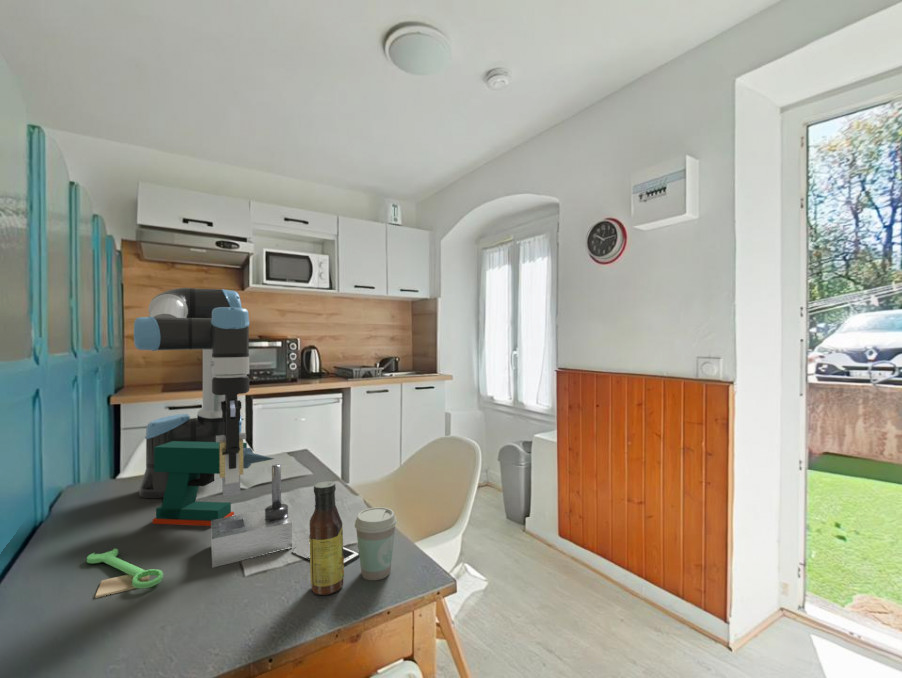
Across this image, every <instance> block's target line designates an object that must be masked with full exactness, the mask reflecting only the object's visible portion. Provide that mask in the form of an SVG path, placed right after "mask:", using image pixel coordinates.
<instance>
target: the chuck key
mask: <svg viewBox="0 0 902 678" xmlns="http://www.w3.org/2000/svg"><path fill="white" fill-rule="evenodd" d="M244 440H247V433H246V432H241V433H239V447H240V451H239V482H236V483H230V484H225V455H222V452H225V451H226V435H218V436H216V442H219V474H218V475H219V478H222V480H221V481H222V482H221V483H222V497H223V498H226V497H232V496H238V495H241V476H242V475H244V469H243V443H244Z"/></svg>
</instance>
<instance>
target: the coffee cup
mask: <svg viewBox="0 0 902 678" xmlns="http://www.w3.org/2000/svg"><path fill="white" fill-rule="evenodd" d="M397 524H398V520H397V517H396V515H395V512H394V510H392V509H390V508H388V507H381V506H380V507H379V506H377V507H375V506H374V507H369V508H366V509H363V510H361V511H359V512H358V513H357V516H356V519H355V521H354V528H355V530H356V538H357V546H358V547H357V548H358V553H359V556H360V557H359V562H360V563H359V564H360V571H361V576H362V577H363V579H365V580H367V581H380V580H383V579H385V578H387V577H389V575H391V574H390V573H391V571H392V560H393V551H394V542H395V530H396V526H397Z"/></svg>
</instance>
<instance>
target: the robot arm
mask: <svg viewBox="0 0 902 678" xmlns="http://www.w3.org/2000/svg"><path fill="white" fill-rule="evenodd" d="M148 315H149V316H144V317H136V318H135V319H134V322H133V343H134V347H135V348H136V349H137V350H139V351H152V352H156V351H174V350H175V351H179V350H181V351H182V350H192V351H193V350H202V408H200V409H199V410H198V411H197V414H196V417H194V418H193V417H192V418H191V416H190V415H189V414H188V413H184V414H183V413H182V414H174V415H173V414H172V415H168V416H163V417H160V418H156V419H154V420H152V421H150V422H149V423H148V424H147V426H146V428H145V429H146V432H145V436H144V437H145V438H144V439H145V450H146V451H145V453H146V455H145V460H146V461H145V464H146V465H145V472H144V474H143V477H142V480H141V482H140V485H139V489H138V491H139V492H138V493H139V495H138V496H139V497H140V498H144V499H162V498H164V494H165V489H166V485H167V481H168V476H169V472H154V447H156V446H159V445H162V444H166V443H169V442H172V441H186V442H216V436H218V435H226V451H225V452H222V455H225V484H230V483H236V482H239V451H240V447H239V433H242V427H243V426H242V423H243V420H242V419H243V418H242V414H241V410H242V401H241V399H240V400H238V395H240V394H242V395H243V394H247V393H248V392H249V391H250V377H249V376H248V375H249V374H250V353H249V352H250V351H249V350H250V348H249V347H250V346H249V345H250V344H249V343H250V333H249V332H250V324H251V322H250V318H249V317H250V316H249V311H248V309H247V308H243V307H242V302H241V298H240V294H239V293H238V292H237V291H235V290H231V289H230V290H229V289H221V288H220V289H217V288H196V287H195V288H194V287H193V288H191V287H179V288H174V289H169V290H166V291H163V292H161V293H158V294H157V295H156V296H154V297H153V298H152V299H151V300H150V303H149V304H148Z"/></svg>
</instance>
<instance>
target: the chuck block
mask: <svg viewBox="0 0 902 678" xmlns="http://www.w3.org/2000/svg"><path fill="white" fill-rule="evenodd" d="M288 547H292V548H293V521H292V519H291V518H290V515H289V505H287V504H286V503H282V464H280V463H279V464H272V466H271V505H269V506H267V507H265V508H264V509H261V510H258V511H251V512H247V513H246V512H245V513H242V514H237V515H236V514H235V515H234V516H230V517H225V518H220V519H215V520H211V526H210V548H211V549H210V550H211V553H210V554H211V567H212V568H216V567H221V566H225V565H229V564H234V563H238V562H241V560H242V561H244V560H243V559H247V558H251V557H255V556H259V555H262V554H266V553H269V552H273V551H277V550H281V549H285V548H288ZM259 557H260V556H259ZM255 558H256V557H255ZM251 559H252V558H251ZM247 560H248V559H247Z"/></svg>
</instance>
